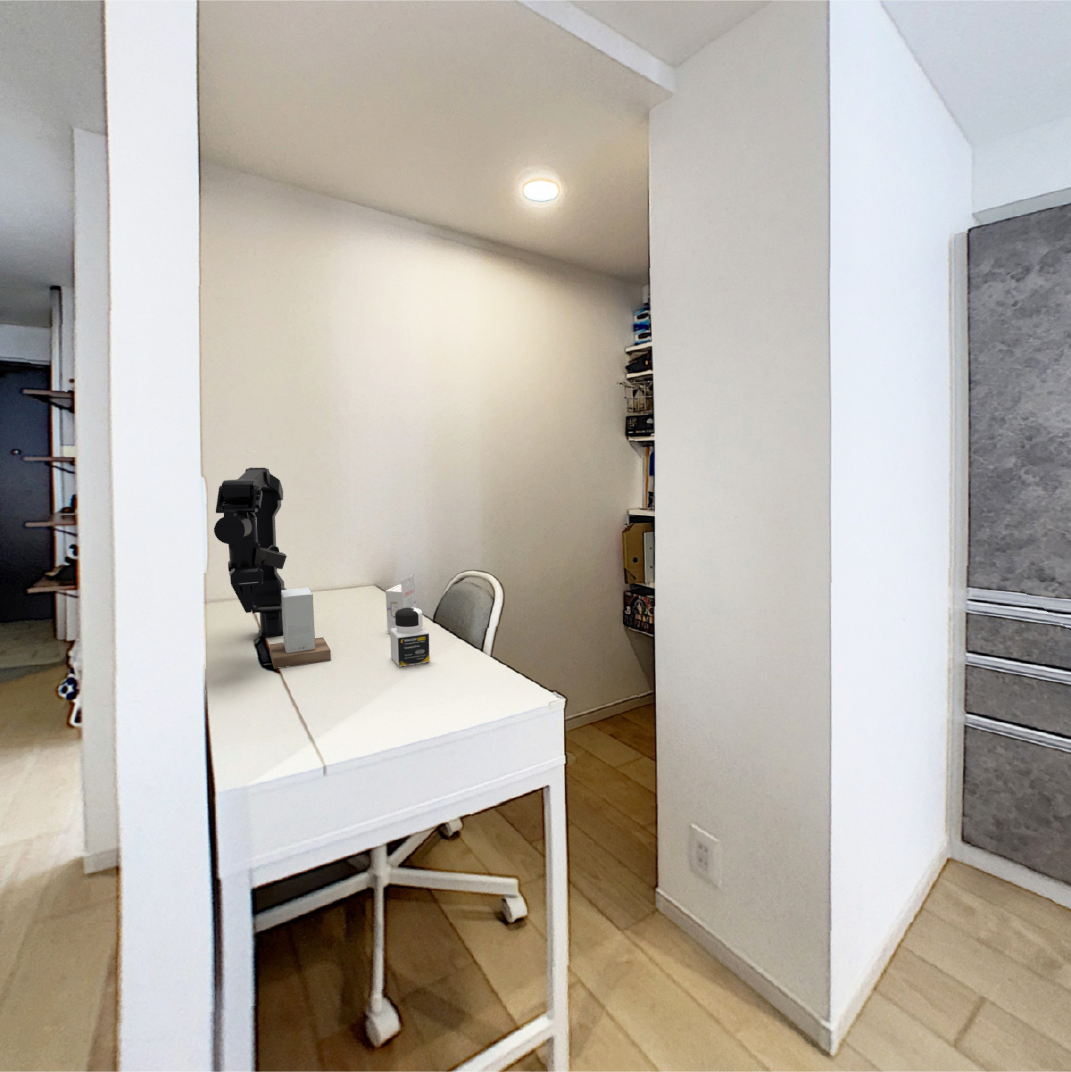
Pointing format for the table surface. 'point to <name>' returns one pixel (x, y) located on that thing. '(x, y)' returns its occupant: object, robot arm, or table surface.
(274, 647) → the brown wooden slab
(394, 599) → the ink cartridge box
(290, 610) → the small box
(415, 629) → the medicine bottle
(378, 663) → the table surface
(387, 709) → the table surface
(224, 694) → the table surface
